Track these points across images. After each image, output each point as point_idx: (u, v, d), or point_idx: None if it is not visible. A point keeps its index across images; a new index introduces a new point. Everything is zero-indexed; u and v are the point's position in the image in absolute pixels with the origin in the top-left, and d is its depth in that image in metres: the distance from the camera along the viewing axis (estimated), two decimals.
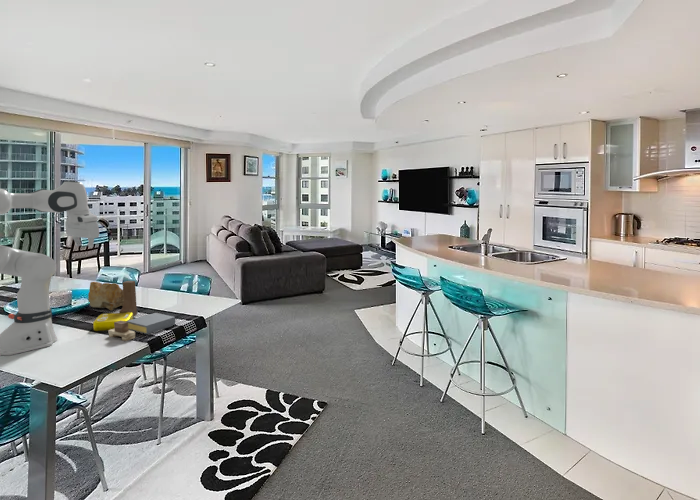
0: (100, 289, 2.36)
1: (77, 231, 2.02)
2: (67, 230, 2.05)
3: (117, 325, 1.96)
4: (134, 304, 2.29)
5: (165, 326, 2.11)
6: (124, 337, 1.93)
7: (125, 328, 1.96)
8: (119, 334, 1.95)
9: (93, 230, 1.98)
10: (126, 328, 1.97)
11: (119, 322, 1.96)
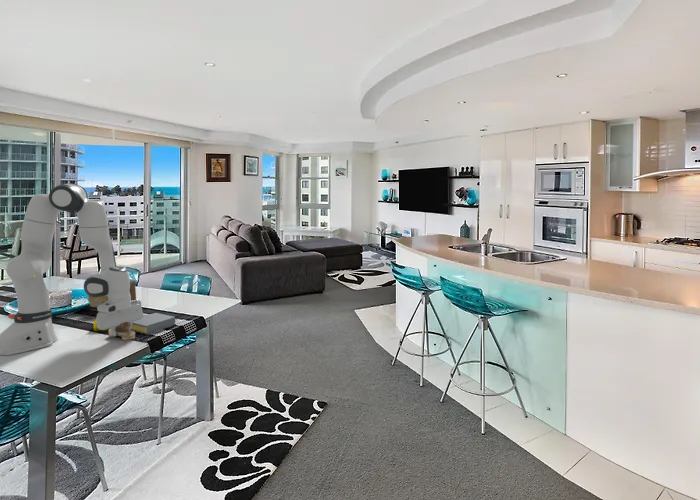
0: None
1: None
2: None
3: None
4: None
5: (165, 326, 2.11)
6: (124, 337, 1.93)
7: (125, 328, 1.96)
8: (119, 334, 1.95)
9: (98, 322, 1.88)
10: (126, 328, 1.97)
11: None
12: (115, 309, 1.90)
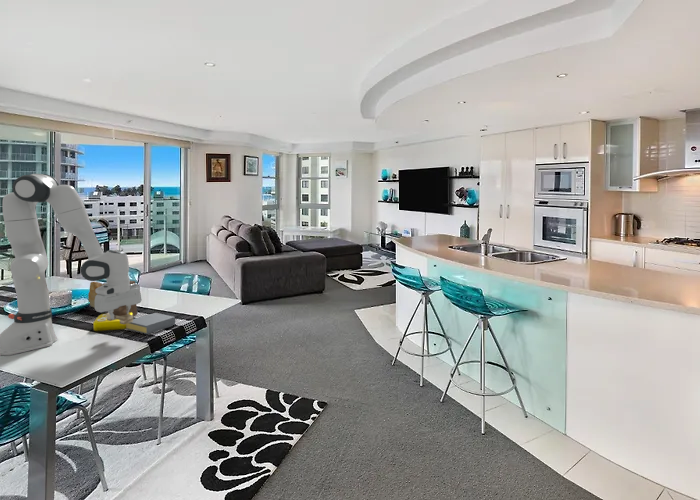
0: None
1: None
2: None
3: None
4: (134, 304, 2.29)
5: (165, 326, 2.11)
6: (122, 320, 1.92)
7: (123, 311, 1.95)
8: (117, 317, 1.93)
9: (96, 304, 1.87)
10: (124, 311, 1.95)
11: None
12: (113, 292, 1.89)
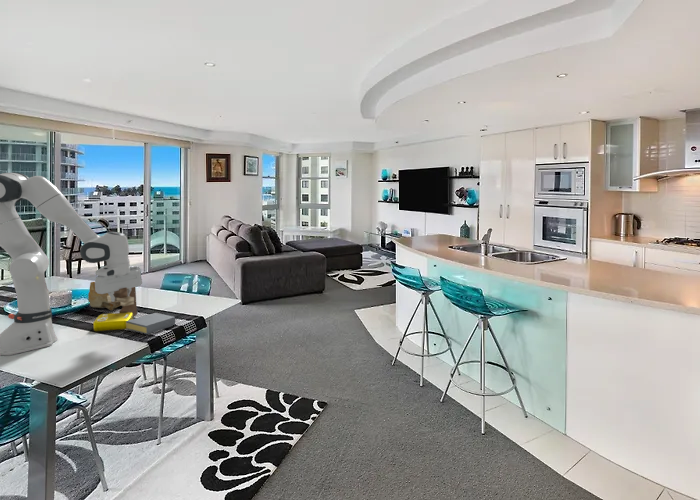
0: None
1: None
2: None
3: None
4: (134, 304, 2.29)
5: (165, 326, 2.11)
6: (123, 302, 1.91)
7: (124, 293, 1.94)
8: (118, 299, 1.93)
9: (96, 286, 1.86)
10: (125, 293, 1.95)
11: None
12: (114, 273, 1.88)
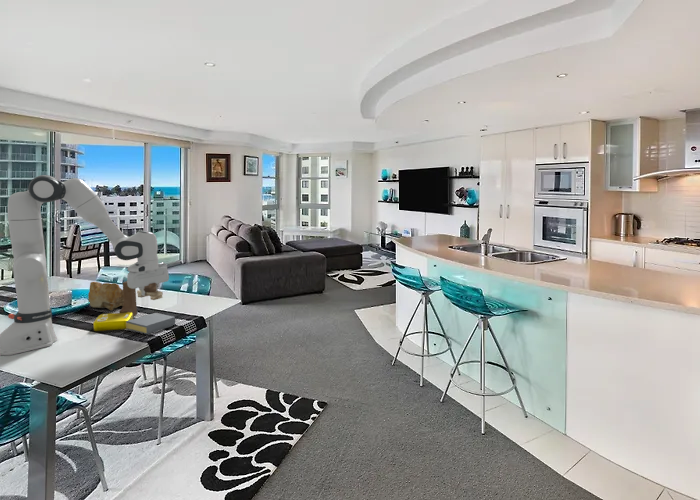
0: (100, 289, 2.36)
1: None
2: None
3: None
4: (134, 304, 2.29)
5: (165, 326, 2.11)
6: (152, 296, 2.05)
7: (153, 288, 2.08)
8: (148, 294, 2.07)
9: (129, 281, 2.00)
10: (154, 288, 2.09)
11: None
12: (144, 269, 2.02)
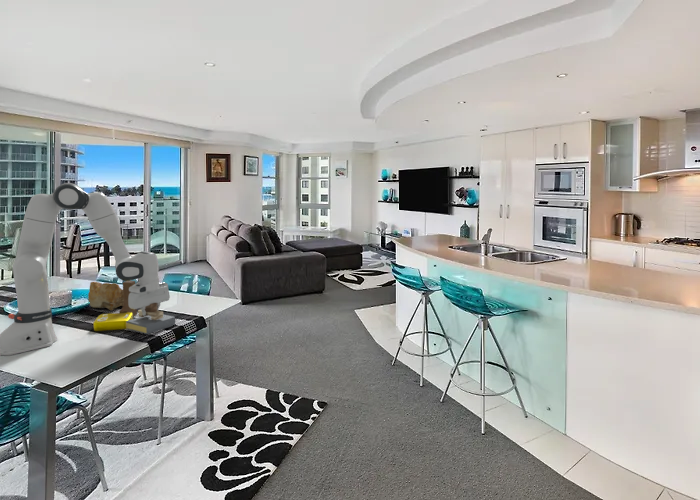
0: (100, 289, 2.36)
1: None
2: None
3: None
4: None
5: (165, 326, 2.11)
6: (153, 316, 2.07)
7: (154, 308, 2.10)
8: (148, 313, 2.08)
9: (130, 301, 2.02)
10: (155, 308, 2.10)
11: None
12: (145, 290, 2.04)
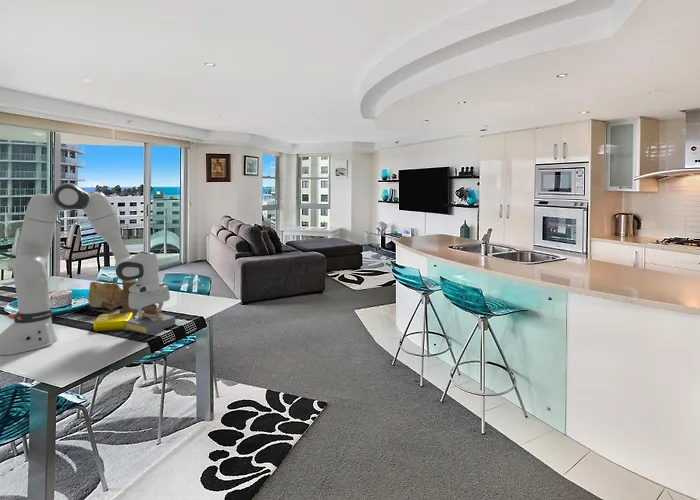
0: (100, 289, 2.36)
1: None
2: None
3: (147, 307, 2.09)
4: None
5: (165, 326, 2.11)
6: (153, 318, 2.07)
7: (154, 310, 2.10)
8: (148, 315, 2.08)
9: (130, 301, 2.02)
10: (155, 310, 2.10)
11: None
12: (145, 290, 2.04)
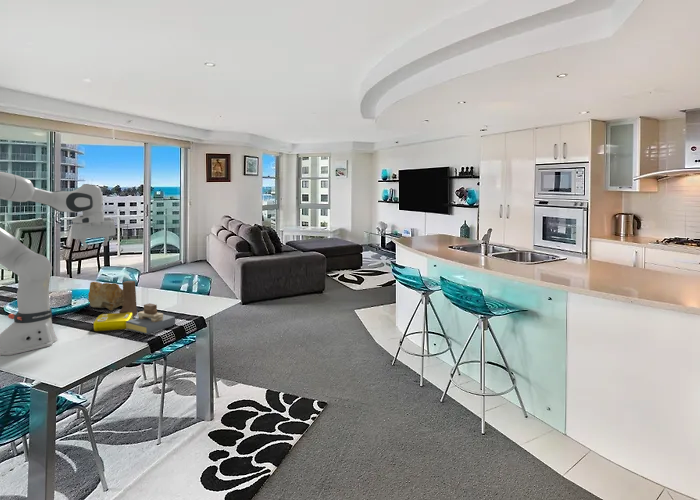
0: (100, 289, 2.36)
1: None
2: None
3: (147, 307, 2.09)
4: (134, 304, 2.29)
5: (165, 326, 2.11)
6: (153, 318, 2.07)
7: (154, 310, 2.10)
8: (148, 315, 2.08)
9: (73, 232, 2.06)
10: (155, 310, 2.10)
11: (148, 304, 2.10)
12: (88, 221, 2.08)
